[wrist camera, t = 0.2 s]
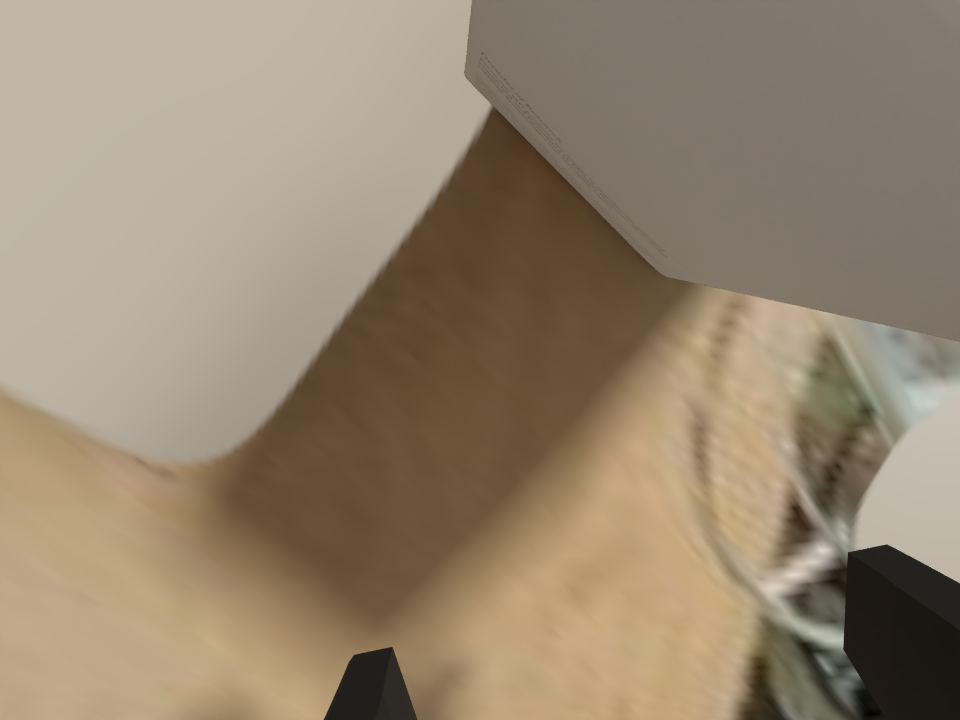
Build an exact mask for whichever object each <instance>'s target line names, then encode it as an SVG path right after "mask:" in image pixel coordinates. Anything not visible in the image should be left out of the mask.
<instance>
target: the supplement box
mask: <svg viewBox="0 0 960 720" xmlns="http://www.w3.org/2000/svg"><path fill="white" fill-rule="evenodd" d="M464 73H465V76H466V78H467V79H468V80H469V81H470V82H471V83H472V85H473V86H474V87H475V88H476V89H477V90H478V91H479V92H480V93H481V94H482V95H483V96H484V97H485V98H486V99H487V100H488V101H489V102H490V103H491V104H492V105H493V106H494V107H495V108H496V109H497V110H498V111H499V112H500V113H501V114H502V115H503V116H504V117H505V118H506V119H507V120H508V121H509V122H510V123H511V124H512V125H513V126H514V127H515V128H516V129H517V130H518V131H519V132H520V133H521V134H522V135H523V137H524V138H525V139H526V140H527V141H528V142H529V143H530V144H531V145H532V146H533V147H534V148H535V149H536V150H537V151H538V152H539V153H540V154H541V155H542V156H543V157H544V158H545V159H546V160H547V161H548V162H549V163H550V164H551V165H552V166H553V167H554V168H555V169H556V170H557V171H558V172H559V173H560V174H561V175H562V176H563V177H564V178H565V179H566V180H567V181H568V182H569V183H570V184H571V185H572V186H573V187H574V188H575V189H576V190H577V191H578V192H579V193H580V194H581V195H582V196H583V197H584V198H585V199H586V200H587V201H588V202H589V203H590V204H591V205H592V206H593V207H594V208H595V209H596V210H597V212H598V213H599V214H600V215H601V216H602V217H603V218H604V219H605V220H606V221H607V222H608V223H609V224H610V225H611V226H612V227H613V228H614V229H615V230H616V231H617V232H618V233H619V234H620V235H621V236H622V237H623V238H624V239H625V240H626V241H627V242H628V243H629V244H630V245H631V246H632V247H633V248H634V249H635V250H636V251H637V252H638V253H639V254H640V255H641V256H642V257H643V258H644V259H645V260H646V261H647V262H648V263H649V264H650V265H651V266H652V267H654V268H655V269H656V270H657V271H658V272H659V273H661V274H662V275H664V276H666V277H669V278H674V279H679V280H683V281H688V282H693V283H697V284H701V285H706V286H711V287H715V288H720V289H724V290H729V291H733V292H738V293H742V294H747V295H751V296H756V297H760V298H765V299H769V300H774V301H779V302H783V303H788V304H792V305H797V306H801V307H806V308H811V309H815V310H820V311H824V312H829V313H833V314H838V315H842V316H847V317H851V318H856V319H860V320H865V321H869V322H874V323H878V324H883V325H887V326H892V327H897V328H901V329H905V330H910V331H914V332H919V333H923V334H927V335H932V336H936V337H941V338H945V339H950V340H954V341H958V342H960V0H472V5H471V15H470V25H469V34H468V45H467V55H466V64H465V71H464Z"/></svg>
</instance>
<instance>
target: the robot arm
mask: <svg viewBox="0 0 960 720" xmlns="http://www.w3.org/2000/svg"><path fill="white" fill-rule="evenodd" d="M843 649H844V651H845V653H846V654H847V656H848V658H849V659H850V661H851V663H852V664H853V666H854V668H855V669H856V671H857V673H858V674H859V676H860V678H861V679H862V681H863V683H864V684H865V686H866V687H867V689H868V691H869V692H870V694H871V695H872V697H873V698H874V700H875V701H876V703H877V705H878V706H879V708H880V709H881V711H882V712H883V714H884V716H885V717H886V719H887V720H960V583H958V582H956V581H954V580H953V579H951V578H949V577H947V576H945V575H943V574H942V573H940V572H938V571H936V570H934V569H932V568H931V567H929V566H927V565H925V564H923V563H921V562H919V561H918V560H916V559H914V558H912V557H910V556H908V555H906V554H904V553H903V552H901V551H899V550H897V549H895V548H893V547H891V546H889V545H882V546H877V547H872V548H867V549H863V550H858V551H853V552H848V562H847V584H846V605H845V627H844V648H843ZM324 720H417V717H416V714H415V712H414V709H413V706H412V703H411V700H410V697H409V694H408V691H407V688H406V685H405V682H404V679H403V676H402V673H401V671H400V668H399V665H398V662H397V659H396V656H395V653H394V650H393V647H390V648H385V649H380V650H375V651H371V652H366V653H361V654H356V655H354V656H353V657H352V659H351V660H350V661H349V663H348V666H347V668H346V670H345V673H344V675H343V678H342V680H341V682H340V684H339V687H338V689H337V691H336V694H335V696H334V698H333V701H332V703H331V705H330V707H329V710H328V712H327V714H326V716H325V718H324Z"/></svg>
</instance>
